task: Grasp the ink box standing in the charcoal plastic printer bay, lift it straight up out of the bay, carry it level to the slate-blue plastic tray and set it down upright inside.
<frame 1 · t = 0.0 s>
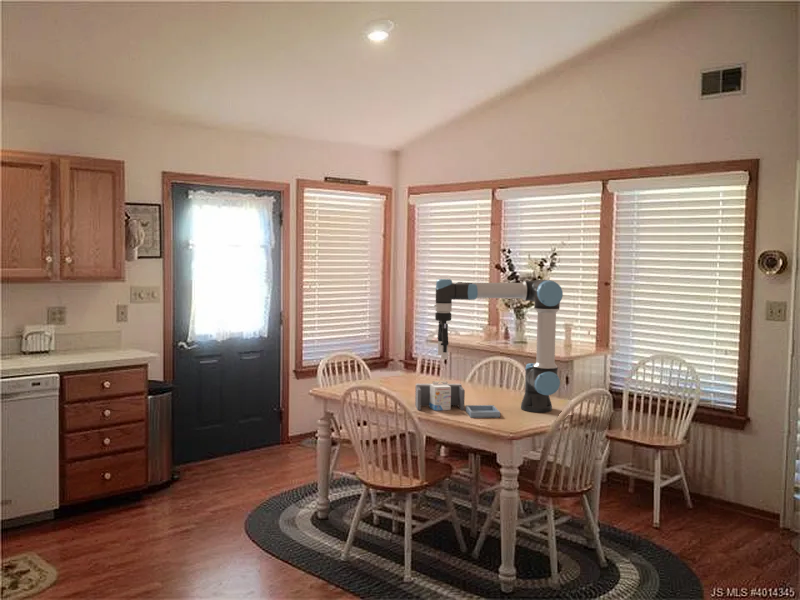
hand: (442, 357, 335), 28 cm above the table, fingers open, 13 cm apart
tray: (482, 414, 342), on the table
bay: (439, 408, 352), on the table
ink box: (439, 409, 352), on the table
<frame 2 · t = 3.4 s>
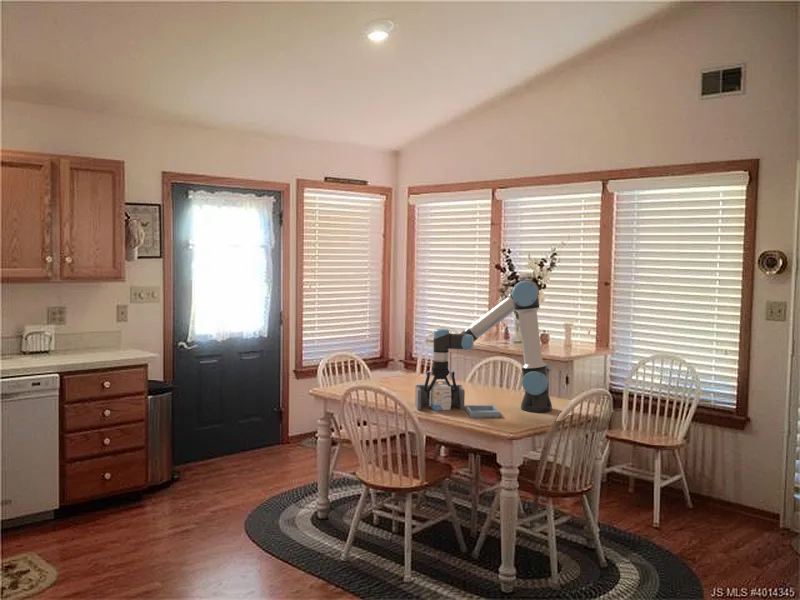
hand: (440, 405, 352), 2 cm above the table, fingers closed on ink box, 9 cm apart
ink box: (439, 408, 352), on the table, touching gripper
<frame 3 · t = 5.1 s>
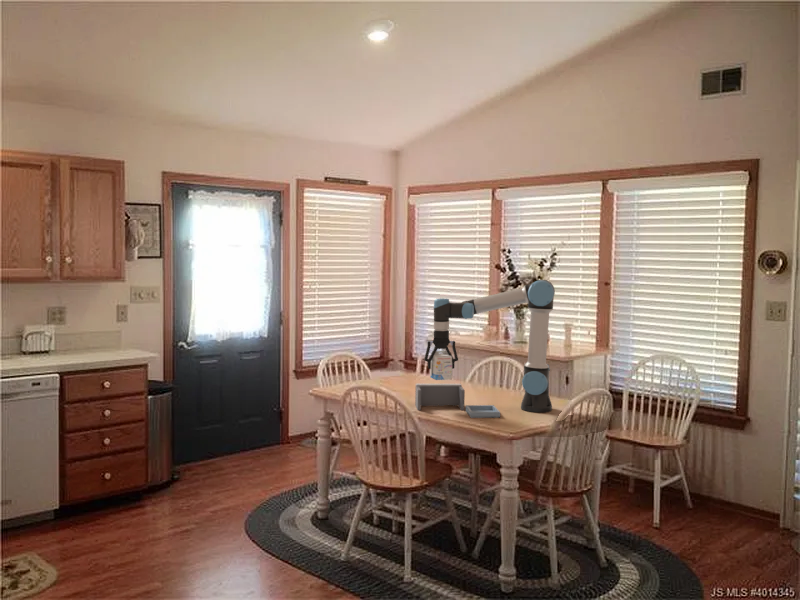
hand: (441, 375, 351), 17 cm above the table, fingers closed on ink box, 9 cm apart
ink box: (441, 378, 351), point 15 cm above the table, touching gripper
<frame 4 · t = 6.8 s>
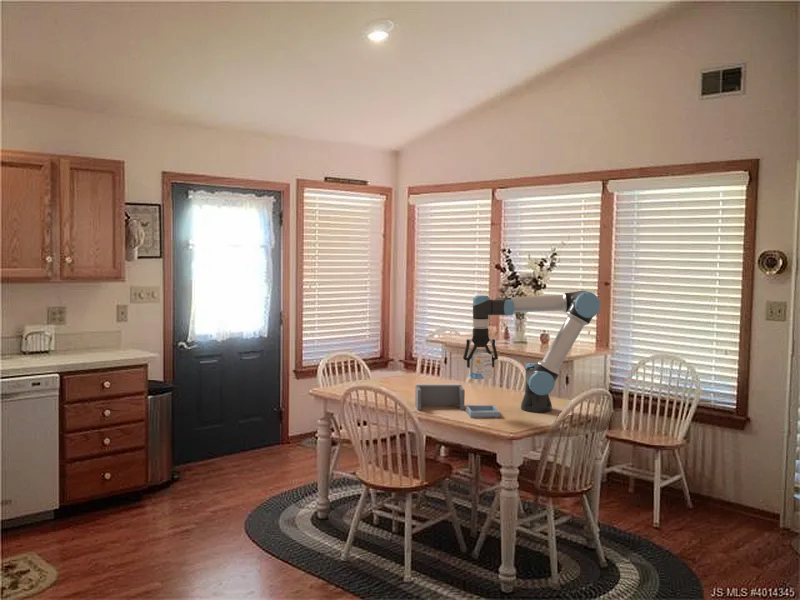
hand: (480, 374, 341), 19 cm above the table, fingers closed on ink box, 9 cm apart
ink box: (480, 377, 341), point 17 cm above the table, touching gripper
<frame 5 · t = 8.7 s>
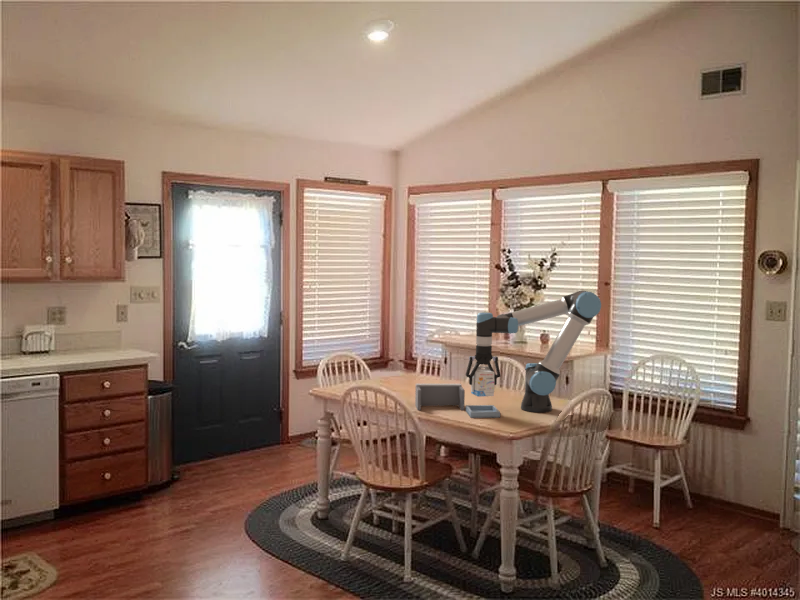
hand: (482, 391, 341), 11 cm above the table, fingers closed on ink box, 9 cm apart
ink box: (482, 395, 341), point 9 cm above the table, touching gripper
when the fingers open (4 cm above the table, at t = 10.5 s): ink box drops 2 cm, resting on tray.
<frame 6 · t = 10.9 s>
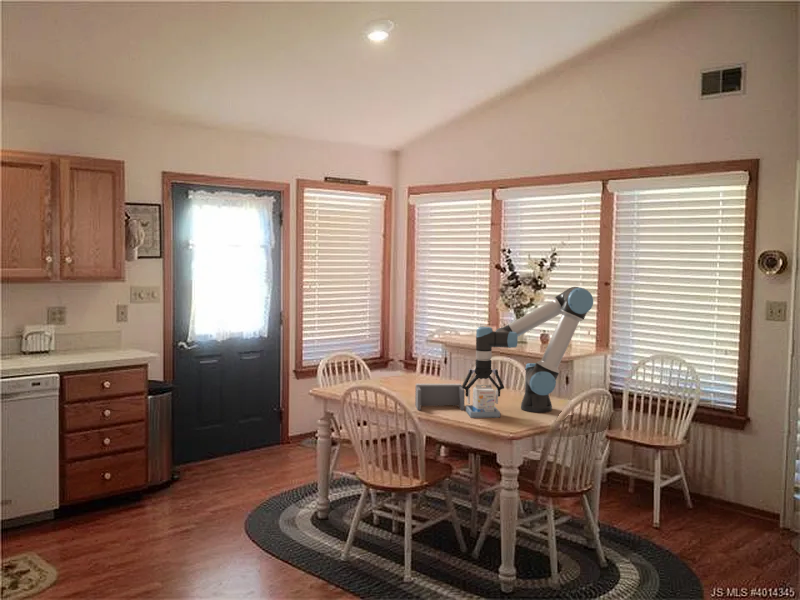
hand: (482, 403, 341), 5 cm above the table, fingers open, 13 cm apart
ink box: (483, 413, 342), resting on tray
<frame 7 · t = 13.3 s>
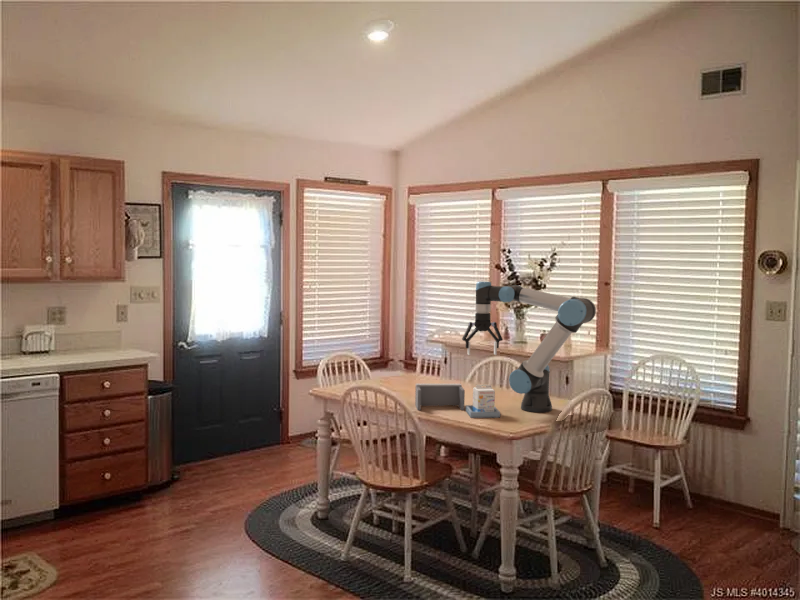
hand: (482, 354, 356), 26 cm above the table, fingers open, 13 cm apart
nothing on the table moved.
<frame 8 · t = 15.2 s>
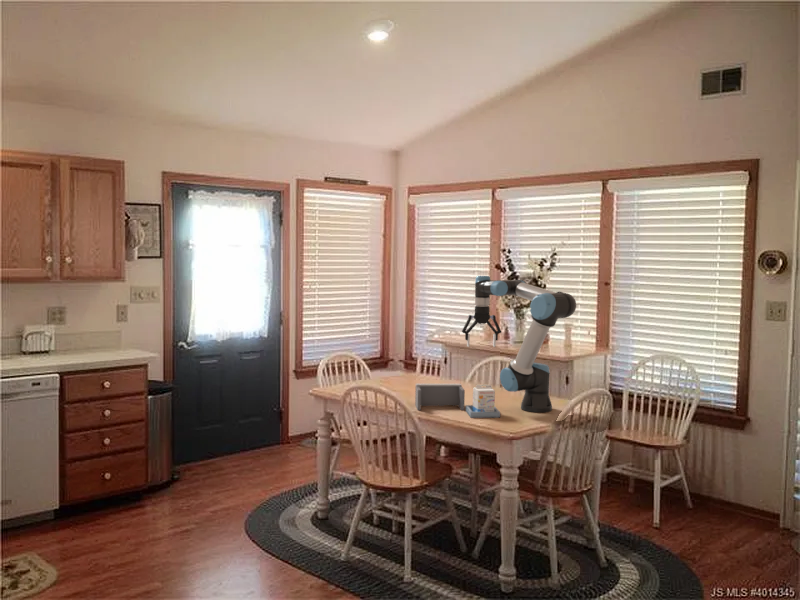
hand: (481, 346, 368), 29 cm above the table, fingers open, 13 cm apart
nothing on the table moved.
at the end: ink box inside the target area on the tray (0.5 cm from its centre), point 0.4 cm above the tray's base; ink box tilted 0°; the gripper is holding nothing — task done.
